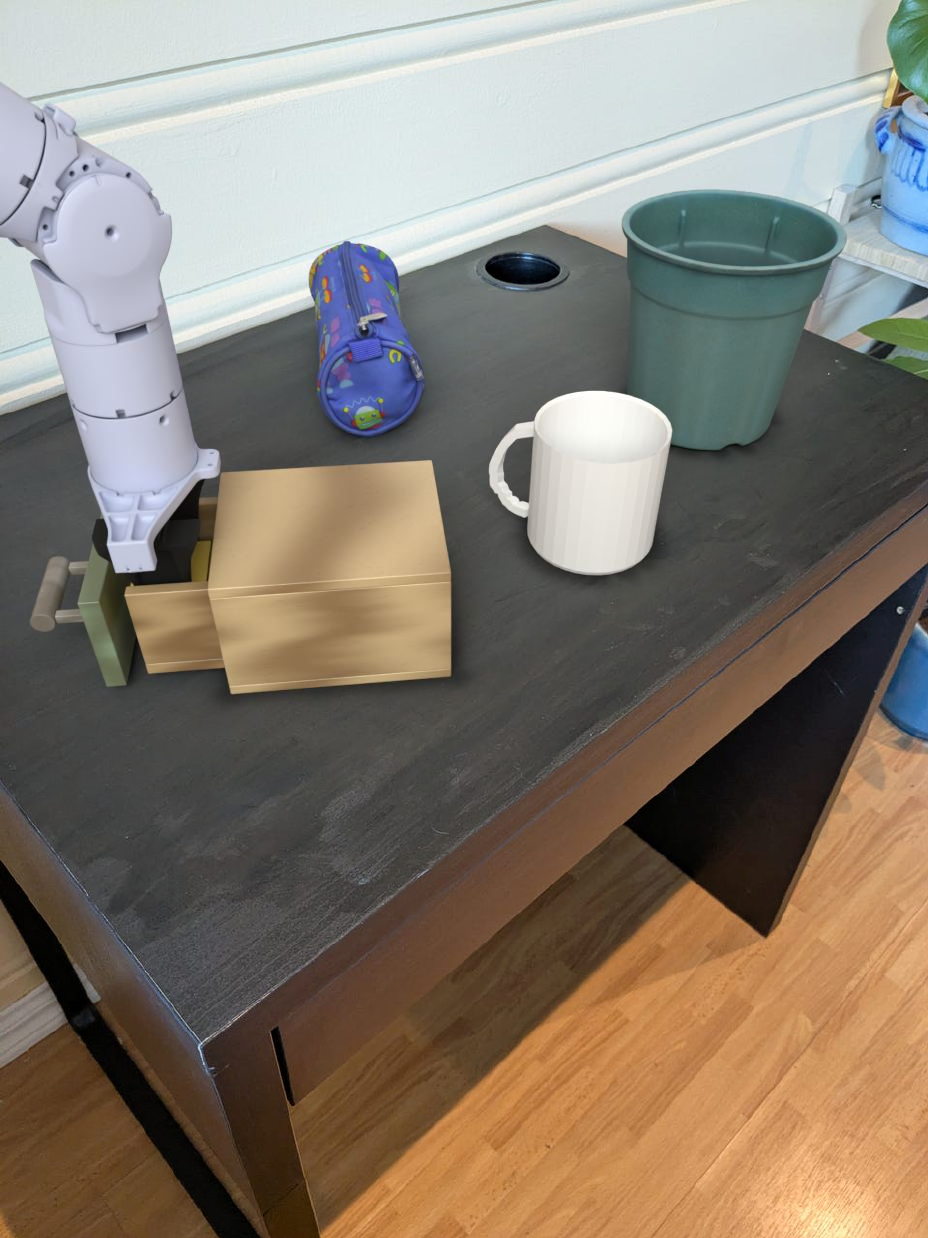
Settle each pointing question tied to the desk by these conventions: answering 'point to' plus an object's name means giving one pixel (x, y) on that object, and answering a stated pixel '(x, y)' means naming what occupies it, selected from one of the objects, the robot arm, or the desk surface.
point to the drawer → (135, 614)
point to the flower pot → (721, 306)
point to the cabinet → (330, 576)
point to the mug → (590, 480)
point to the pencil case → (363, 341)
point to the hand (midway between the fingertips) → (177, 588)
